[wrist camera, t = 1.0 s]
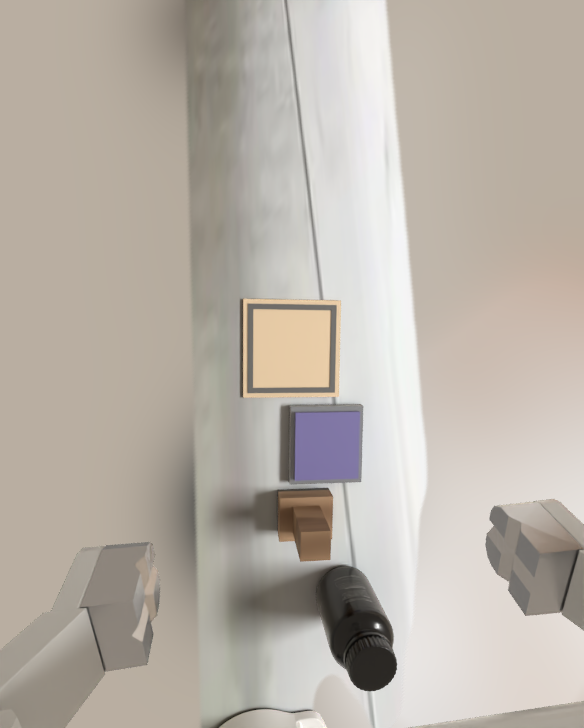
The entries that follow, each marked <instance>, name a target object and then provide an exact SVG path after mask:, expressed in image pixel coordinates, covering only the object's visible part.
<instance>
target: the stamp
mask: <svg viewBox="0 0 584 728" xmlns="http://www.w3.org/2000/svg"><path fill="white" fill-rule="evenodd" d="M332 515H333V496H332V494H331V492H330V490H329V489H328V488H314V489H287V490H278V522H277V531H278V537H279V542H284V541H295V543H296V547H297V550H298V554H299V558H300V561H318V560H330V550H331V539H332Z"/></svg>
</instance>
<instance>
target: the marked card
mask: <svg viewBox="0 0 584 728" xmlns="http://www.w3.org/2000/svg"><path fill="white" fill-rule="evenodd" d="M340 321H341V301H328V300H276V299H243V398H248V397H339V367H340Z"/></svg>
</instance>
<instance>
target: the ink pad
mask: <svg viewBox="0 0 584 728" xmlns="http://www.w3.org/2000/svg"><path fill="white" fill-rule="evenodd" d="M362 432H363V406H362V405H361V404H352V405H290V425H289V483H290V484H315V483H344V482H361V469H362Z"/></svg>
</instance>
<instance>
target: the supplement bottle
mask: <svg viewBox="0 0 584 728" xmlns="http://www.w3.org/2000/svg"><path fill="white" fill-rule="evenodd" d="M316 601H317V605H318V609H319V613H320V616H321V620H322V623H323V626H324V630H325V633H326V637H327V640H328V644H329V647H330V650H331V653H332V655H333V657H334V659H335V660H336V661H337V663H338V664H339V665H341V666H342V667H343V668H345V669H346V670H347V671H348V674H349V677H350V679H351V681H352V682H353V684H354V685H355V686H356V687H357V688H360V689H361V690H364V691H376V690H379V689H381V688H384V687H385V686H386V685H388V683H389V682H391V680H392V679H393V678H394V675H395V674H396V670H397V667H396V666H397V662H396V657H395V654H394V652H393V649H392V646H393V640H394V635H393V629H392V626H391V624H390V622H389V620H388V618H387V616H386V614H385V612H384V610H383V608H382V606H381V604H380V602H379V600H378V598H377V596H376V594H375V592H374V590H373V588H372V586H371V585H370V583H369V581H368V579H367V578H366V576H365V575H364V574H363V573H362V572H361V571H359V570H358V569H356V568H353V567H347V566H343V567H337V568H335V569H332V570H331V571H329V572H328V573H326V574H325V575H324V576H323V577H322V579H321V580H320V582H319V584H318V586H317V590H316Z"/></svg>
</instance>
